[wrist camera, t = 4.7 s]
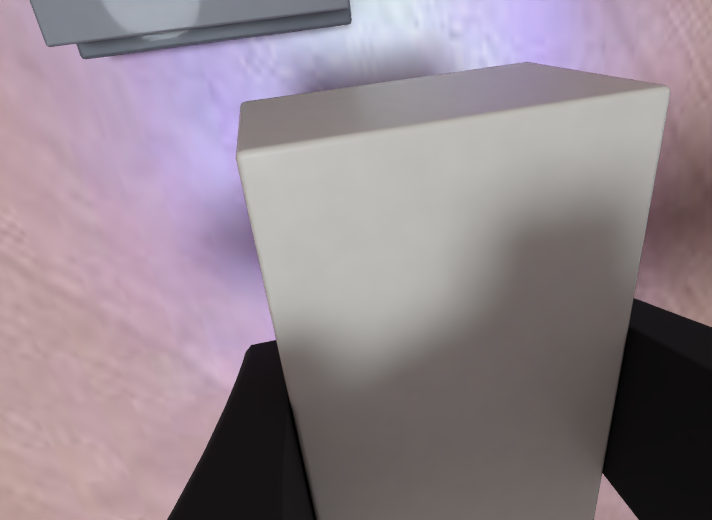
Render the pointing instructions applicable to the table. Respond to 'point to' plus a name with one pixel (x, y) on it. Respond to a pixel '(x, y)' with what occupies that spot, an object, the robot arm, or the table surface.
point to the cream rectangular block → (453, 282)
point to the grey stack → (176, 22)
